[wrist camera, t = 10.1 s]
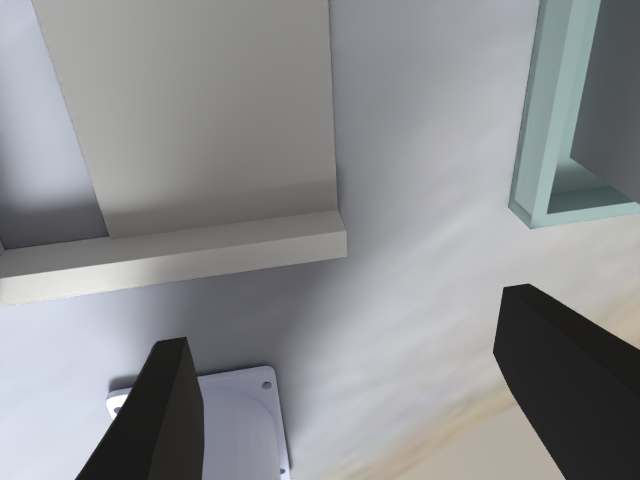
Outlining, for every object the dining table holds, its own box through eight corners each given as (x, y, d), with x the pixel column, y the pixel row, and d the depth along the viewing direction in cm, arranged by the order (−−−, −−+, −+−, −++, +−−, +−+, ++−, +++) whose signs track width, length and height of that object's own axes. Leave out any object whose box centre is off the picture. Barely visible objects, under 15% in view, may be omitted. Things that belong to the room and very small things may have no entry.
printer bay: (337, 231, 22) (362, 295, 18) (-37, 282, 20) (-96, 365, 16) (321, -120, 15) (354, -133, 11) (-236, -84, 14) (-411, -87, 10)
